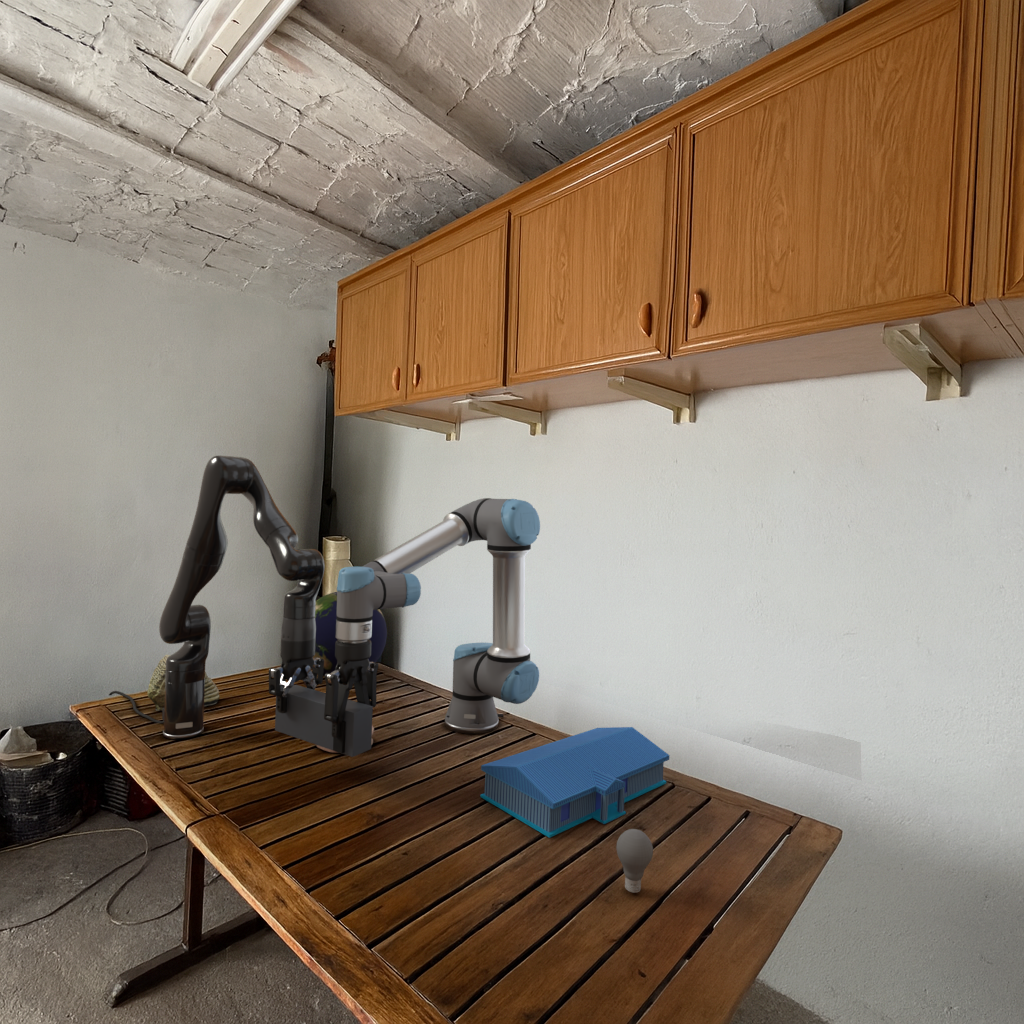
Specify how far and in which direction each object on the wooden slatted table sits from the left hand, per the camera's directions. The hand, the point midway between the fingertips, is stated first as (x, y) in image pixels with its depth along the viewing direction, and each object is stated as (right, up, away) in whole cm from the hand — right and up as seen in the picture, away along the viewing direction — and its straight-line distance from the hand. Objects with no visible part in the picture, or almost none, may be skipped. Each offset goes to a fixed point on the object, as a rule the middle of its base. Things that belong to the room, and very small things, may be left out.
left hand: (295, 708), depth 145 cm
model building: (+65, -18, -4) cm, 68 cm away
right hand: (+15, -5, -9) cm, 18 cm away
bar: (+7, -6, -4) cm, 10 cm away
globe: (-10, -13, +75) cm, 77 cm away
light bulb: (+70, -18, -39) cm, 82 cm away
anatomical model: (+7, -15, +16) cm, 23 cm away
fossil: (-46, -12, +40) cm, 62 cm away
